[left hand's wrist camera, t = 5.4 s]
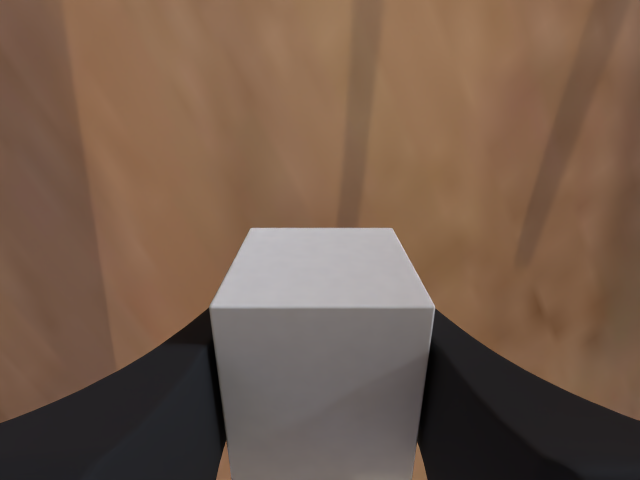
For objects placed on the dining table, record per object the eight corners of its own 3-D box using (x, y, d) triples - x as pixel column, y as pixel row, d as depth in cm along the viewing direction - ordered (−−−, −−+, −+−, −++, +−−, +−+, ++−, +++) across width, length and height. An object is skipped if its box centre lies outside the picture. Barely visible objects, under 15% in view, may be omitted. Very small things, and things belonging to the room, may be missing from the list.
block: (259, 359, 13) (231, 484, 9) (250, 227, 12) (208, 306, 7) (382, 359, 13) (411, 484, 9) (392, 227, 12) (436, 306, 7)
